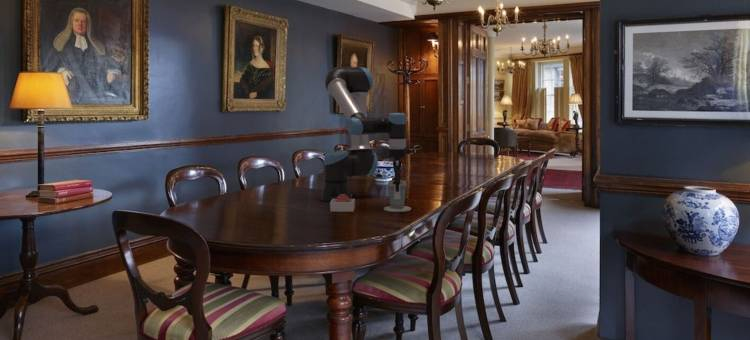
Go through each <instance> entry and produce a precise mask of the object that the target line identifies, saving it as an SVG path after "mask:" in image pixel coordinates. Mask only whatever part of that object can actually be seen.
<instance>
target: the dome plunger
mask: <svg viewBox="0 0 750 340" xmlns="http://www.w3.org/2000/svg"><path fill="white" fill-rule="evenodd" d="M334 202H352V200H350V198H348V196H346V194H340V196H338V198H336V200H335V201H334Z"/></svg>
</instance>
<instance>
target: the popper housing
mask: <svg viewBox="0 0 750 340" xmlns="http://www.w3.org/2000/svg"><path fill="white" fill-rule="evenodd" d="M335 200H336V199H332V201H331V202H330V201H329V209H330V213H331V212H336V213H337V212H338V213H339V212H340V213H342V212H345V213H347V212H349V213H351V212H352V213H354V211H355V209H356V199H355V198H352V199H350V200H352V202H334V201H335Z"/></svg>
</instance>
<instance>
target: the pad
mask: <svg viewBox="0 0 750 340" xmlns="http://www.w3.org/2000/svg"><path fill="white" fill-rule="evenodd" d="M411 210H412V207H410V206H407V205H404V208H402V209H392V208H391V206H390V205H389V206H388V205H387V206H385V207H383V211H386V212H390V213H391V212H392V213H402V212H410V211H411Z"/></svg>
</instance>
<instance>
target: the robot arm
mask: <svg viewBox="0 0 750 340" xmlns="http://www.w3.org/2000/svg"><path fill="white" fill-rule="evenodd" d="M373 83H374V82H373V76H372V73H371V71H370V70H369V68H366V67H363V66H362V67H360V66H337V67H334V68H332V69H330V71H328V72H327V74H326V75H325V80H324V85H325V89H326V91H327V93H328V94H329V95H331V96H332V98H334V100H335V102H336V104H337V105H338V106H339V109H340V110H341V112H342V114H343V115H344V117H345V118H346V120H347V121H346V129H347V133H348V134H349V135H350V138H351V140H350V141H351V147H350V148H349V149H348V151H347V150H337V151H336V150H335V151H330V152H327V153H326V154H325V155H324V156H323V179H324V180H323V181H324V184H323V188H322V190H321V194H320V200H321V201H324V202H329V203H330V202H331V201H332V199H336V198H338V196H340V194H346V196H348V198H350V199H353V194H352V191H351V188H350V184H349V178H354V177H355V178H356V177H367V176H372V175H374V174H375V172H376V171H377V170H378V169H377V168H378V163H379V158H378V156H377V153H376V152H374V151H373V148H372V147H371V145H370V140H369V135H388V140H387V143H388V147H389V149H388V157H389V158H392V159H394V160H393V161H392V167H393V168H392V169H393V172H394V174H393V175H394V179H393V180H394V182H393V184H394V199H400V180H403V177H401V172H402V165H403V164H402V163H403V161H401V159H403V158H406V157H407V149H406V148H407V118H406V117H407V116H406V113H405V112H389V114H388V116H377V117H376V116H375V117H374V116H373V117H371V116H370V117H368V111H367V96H368V95H369V92H370V91H371V90H372V88H373Z"/></svg>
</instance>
